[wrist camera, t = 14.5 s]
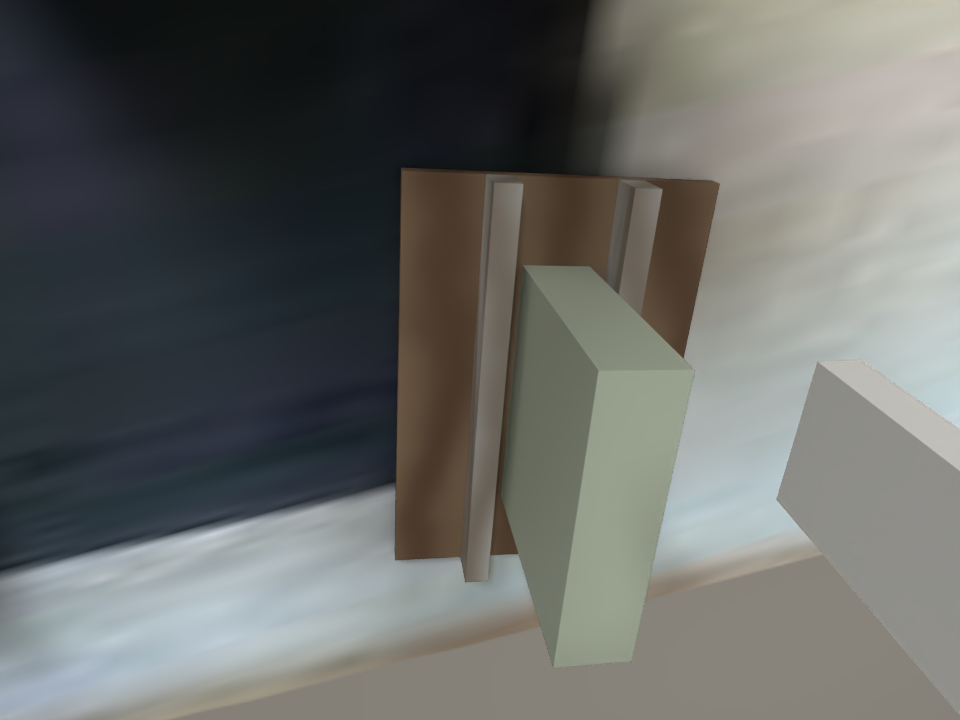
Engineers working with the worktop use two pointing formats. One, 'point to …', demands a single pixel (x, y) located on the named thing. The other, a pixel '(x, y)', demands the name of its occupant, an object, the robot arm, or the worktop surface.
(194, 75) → the worktop surface
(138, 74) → the worktop surface
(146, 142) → the worktop surface
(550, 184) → the walnut track
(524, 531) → the door panel
